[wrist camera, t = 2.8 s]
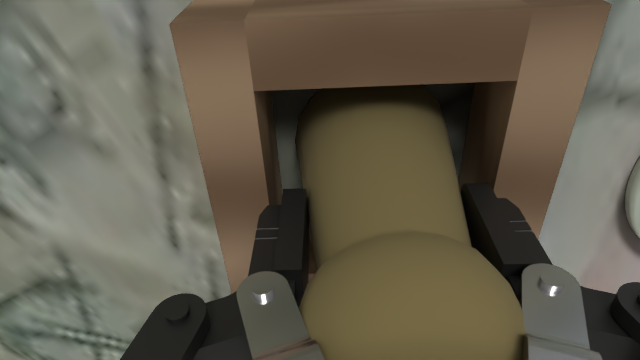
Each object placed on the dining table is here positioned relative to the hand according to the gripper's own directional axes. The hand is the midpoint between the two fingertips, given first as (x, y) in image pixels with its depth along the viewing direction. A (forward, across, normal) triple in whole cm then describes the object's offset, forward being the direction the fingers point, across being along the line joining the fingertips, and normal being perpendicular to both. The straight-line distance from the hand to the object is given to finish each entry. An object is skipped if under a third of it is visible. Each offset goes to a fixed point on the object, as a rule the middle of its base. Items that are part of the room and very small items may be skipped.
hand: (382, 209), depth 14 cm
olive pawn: (+5, 0, 0) cm, 5 cm away
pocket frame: (+4, 0, 0) cm, 4 cm away
